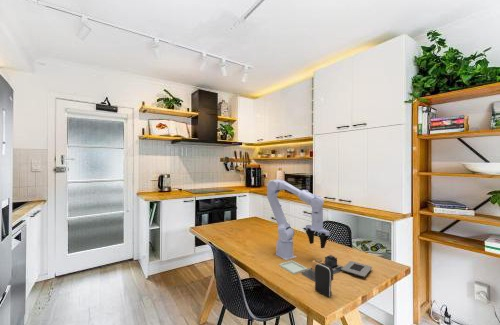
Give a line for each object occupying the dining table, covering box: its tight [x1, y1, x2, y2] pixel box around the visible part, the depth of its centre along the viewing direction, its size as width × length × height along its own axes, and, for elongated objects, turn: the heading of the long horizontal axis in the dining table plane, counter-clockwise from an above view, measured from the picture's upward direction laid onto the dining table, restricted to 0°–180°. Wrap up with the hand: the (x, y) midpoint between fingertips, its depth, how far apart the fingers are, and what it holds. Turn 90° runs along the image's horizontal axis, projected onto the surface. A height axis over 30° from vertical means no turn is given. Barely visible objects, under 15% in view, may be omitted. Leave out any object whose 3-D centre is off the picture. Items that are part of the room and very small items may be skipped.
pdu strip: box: [301, 254, 344, 282], centre depth 113 cm, size 22×8×7 cm, turn 122°
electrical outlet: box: [341, 260, 373, 278], centre depth 114 cm, size 13×10×2 cm
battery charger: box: [314, 263, 334, 298], centre depth 95 cm, size 7×4×11 cm, turn 37°
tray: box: [278, 259, 308, 275], centre depth 117 cm, size 11×9×1 cm
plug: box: [311, 258, 325, 271], centre depth 111 cm, size 4×4×6 cm
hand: (317, 245), depth 123 cm, fingers open, 7 cm apart
